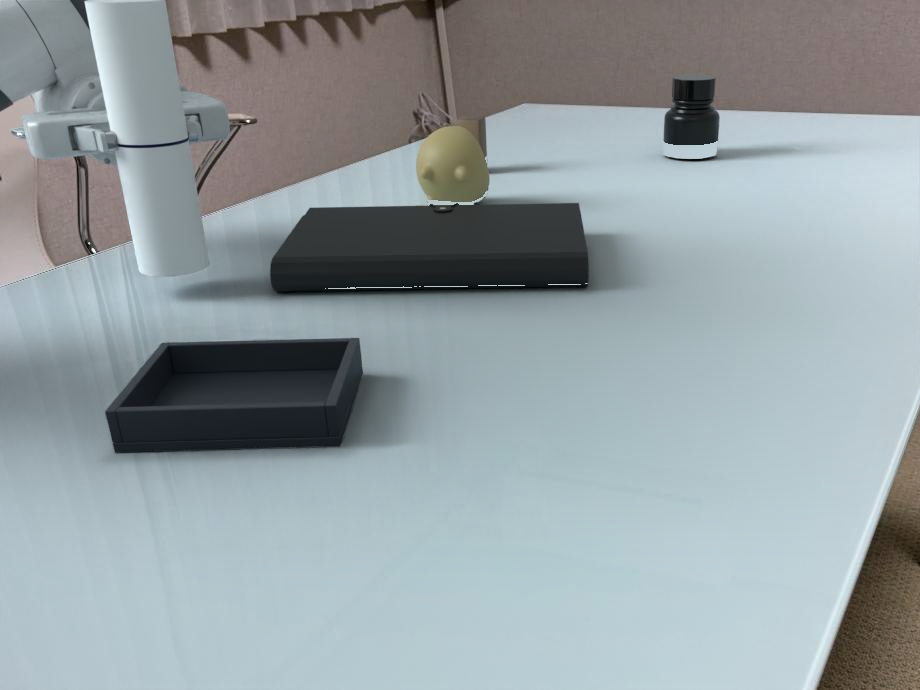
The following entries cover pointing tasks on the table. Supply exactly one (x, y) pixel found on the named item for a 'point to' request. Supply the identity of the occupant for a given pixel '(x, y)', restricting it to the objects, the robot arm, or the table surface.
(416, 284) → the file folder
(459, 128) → the tan rounded lump
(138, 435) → the tray
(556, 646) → the table surface
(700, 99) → the ink bottle
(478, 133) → the wooden block
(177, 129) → the cylindrical container
